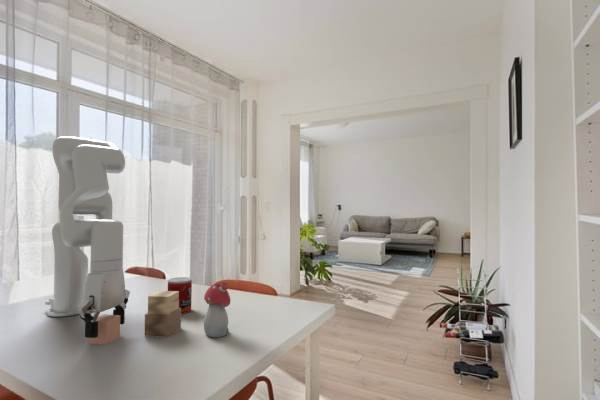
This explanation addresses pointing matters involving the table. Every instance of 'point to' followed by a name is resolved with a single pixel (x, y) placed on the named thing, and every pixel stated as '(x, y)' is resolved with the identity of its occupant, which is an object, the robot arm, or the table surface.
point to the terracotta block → (107, 329)
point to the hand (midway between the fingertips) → (105, 330)
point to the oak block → (163, 302)
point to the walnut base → (162, 324)
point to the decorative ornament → (217, 310)
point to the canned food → (182, 291)
